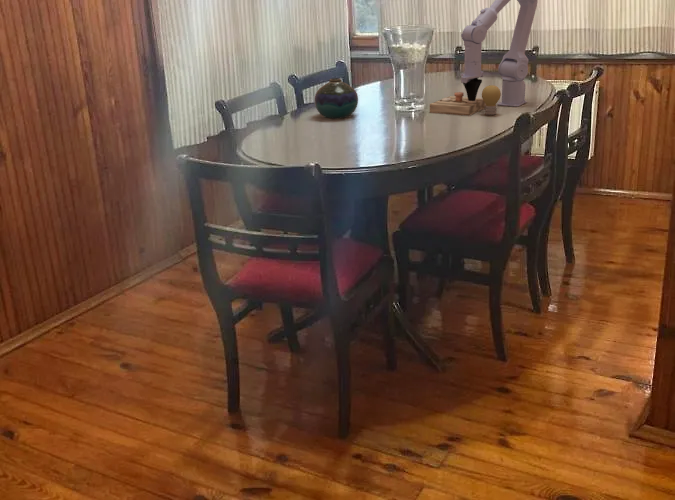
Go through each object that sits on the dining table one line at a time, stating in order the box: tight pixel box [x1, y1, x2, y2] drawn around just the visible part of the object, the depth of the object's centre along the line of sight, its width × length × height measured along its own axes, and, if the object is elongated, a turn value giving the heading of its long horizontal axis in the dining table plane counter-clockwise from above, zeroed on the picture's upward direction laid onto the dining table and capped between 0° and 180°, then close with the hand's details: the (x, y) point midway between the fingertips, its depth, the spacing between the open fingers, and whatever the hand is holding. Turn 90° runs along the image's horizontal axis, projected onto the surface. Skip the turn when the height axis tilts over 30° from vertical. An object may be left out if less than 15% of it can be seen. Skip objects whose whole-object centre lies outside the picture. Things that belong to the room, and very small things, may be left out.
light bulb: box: [481, 84, 502, 116], centre depth 253 cm, size 6×6×10 cm
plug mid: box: [453, 91, 465, 102], centre depth 263 cm, size 3×3×3 cm
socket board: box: [429, 95, 486, 117], centre depth 264 cm, size 16×15×3 cm
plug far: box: [441, 97, 451, 102], centre depth 267 cm, size 3×3×3 cm
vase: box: [314, 77, 359, 119], centre depth 260 cm, size 15×15×13 cm
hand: (471, 100), depth 261 cm, fingers closed, pressing on plug near
